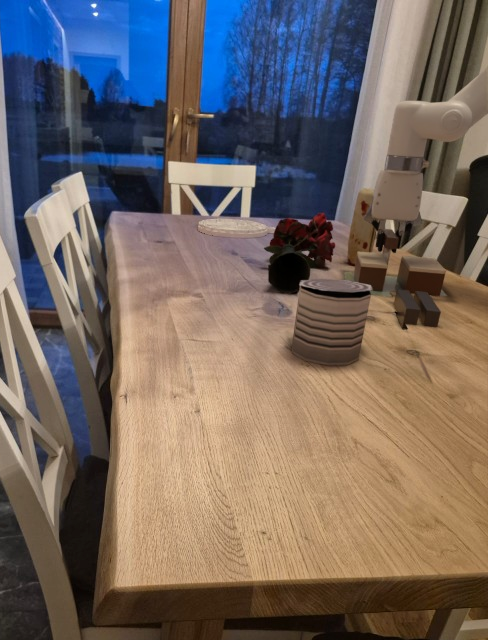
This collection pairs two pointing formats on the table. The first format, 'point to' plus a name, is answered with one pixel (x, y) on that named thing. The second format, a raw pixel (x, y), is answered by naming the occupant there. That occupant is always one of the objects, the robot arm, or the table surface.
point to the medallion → (234, 228)
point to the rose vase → (298, 251)
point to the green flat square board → (389, 285)
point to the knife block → (416, 308)
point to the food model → (361, 227)
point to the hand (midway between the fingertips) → (386, 250)
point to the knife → (389, 244)
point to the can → (330, 321)
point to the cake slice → (370, 270)
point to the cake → (421, 275)
